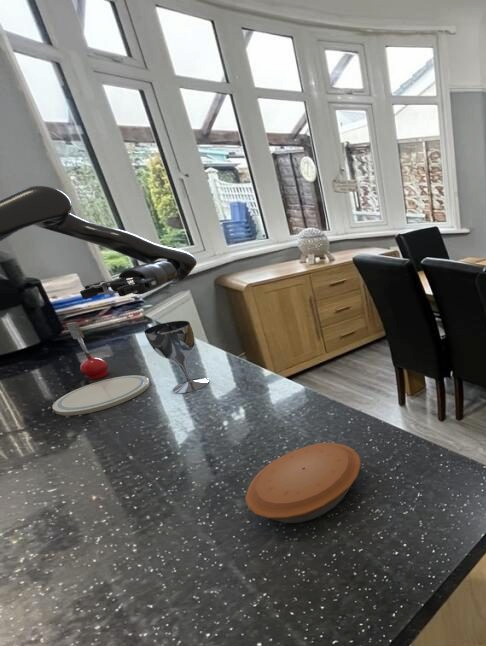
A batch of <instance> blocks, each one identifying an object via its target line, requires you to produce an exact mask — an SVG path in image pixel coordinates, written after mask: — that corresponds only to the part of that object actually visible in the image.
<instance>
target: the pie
mask: <svg viewBox="0 0 486 646" xmlns="http://www.w3.org/2000/svg"><path fill="white" fill-rule="evenodd" d="M361 466H362V463H361V456H360V455H359V454H358V452H357V451H356V450H355V449H353V448H351V447H350V446H348V445H345V444H340V443H336V442H319V443H314V444H311V445H306V446H303V447H300V448H298V449H297V448H296V449H294V450H291V451H289V452H287V453H286V454H283V455H282V456H279V457H277V458H275V459H274V460H273V461H271V462H270V463H269V464H267V465H265V466H264V467H263V468H262V469H261V470H260V471H259V472H258V473H257V474H256V475H255V476H254V477H253V479H252V481H251V482H250V484H249V486H248V488H247V490H246V494H245V498H244V500H245V503H246V506H247V509H249V510H250V511H251V512H252V513H254V514H255V515H256V516H259V517H262V518H266V519H271V520H273V521H276V522H279V523H283V524H300V523H305V522H309V521H312V520H314V519H316V518H319V517H321V516H323V515H325V514H326V513H328V512H330V511H331V510H333V509H334V508H335V507H337V505H339V504H340V502H342V501H343V499H344V498H345V497H346V495H347V494H348V492H349V490H350V488H351V486H352V485H353V483H354V482H355V480H357V478H358V475H359V473H360V469H361Z"/></svg>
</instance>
